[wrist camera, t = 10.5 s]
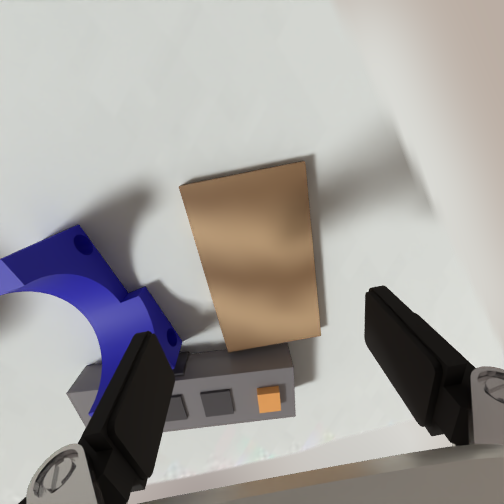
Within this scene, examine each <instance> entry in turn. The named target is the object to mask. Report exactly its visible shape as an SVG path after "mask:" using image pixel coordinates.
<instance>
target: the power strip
mask: <svg viewBox="0 0 504 504" xmlns="http://www.w3.org/2000/svg"><path fill="white" fill-rule="evenodd" d="M172 370H173V373H174V375H175V384H174V388H173V392H172V396H171V400H170V405H169V409H168V413H167V417H166V421H165V425H164V429H163V432H168V431H176V430H185V429H193V428H202V427H210V426H219V425H227V424H236V423H244V422H252V421H261V420H269V419H278V418H286V417H295V416H296V415H295V392H294V369H293V364H292V360H291V356H290V352H289V348H288V344H287V343H280V344H272V345H267V346H261V347H256V348H250V349H245V350H239V351H234V352H228V350H220V351H211V352H202V353H194V354H189V352H183V353H179V355H178V358H177V362H176V365H175V368H174V369H172ZM101 373H102V364H98V365H89V366H86V367H85V368H84V370H83V371H82V372H81V374H80V375H79V377H78V378H77V379H76V381H75V382H74V384H73V385H72V386H71V388H70V389H69V391H68V392H67V393H66V394H67V396H68V397H69V399H70V401H71V402H72V404H73V406H74V408H75V409H76V411H77V413H78V414H79V416H80V418H81V420H82V421H83V423H84V425H85V427H87V425H88V423H89V421H90V419H91V416H89V415H88V413H89V411H90V409H91V407H92V405H93V403H94V401H95V398H96V395H97V392H98V389H99V385H100V380H101Z"/></svg>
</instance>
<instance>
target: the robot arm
mask: <svg viewBox="0 0 504 504" xmlns="http://www.w3.org/2000/svg"><path fill="white" fill-rule="evenodd" d="M365 342H366V345H367V347H368V348H369V350H370V351H371V353H372V354H373V356H374V357H375V359H376V360H377V362H378V363H379V365H380V366H381V368H382V370H383V371H384V373H385V374H386V376H387V377H388V379H389V380H390V382H391V383H392V385H393V386H394V388H395V389H396V391H397V392H398V394H399V395H400V397H401V398H402V400H403V401H404V403H405V404H406V406H407V407H408V409H409V411H410V412H411V414H412V415H413V417H414V418H415V420H416V421H417V422H418V424H419V425H420V426H422V427H424V426H425V427H426V429H427V430H428V432H429V433H430V435H431V436H436V435H441V434H445V436H446V437H447V438H448V440H449V441H450V442H451V443H452V447H445V448H439V449H432V450H426V451H419V452H413V453H407V454H401V455H395V456H389V457H384V458H379V459H373V460H367V461H362V462H356V463H350V464H345V465H339V466H334V467H328V468H322V469H317V470H311V471H306V472H301V473H296V474H290V475H284V476H279V477H273V478H268V479H263V480H258V481H252V482H247V483H241V484H236V485H231V486H226V487H220V488H215V489H210V490H204V491H199V492H194V493H189V494H184V495H178V496H173V497H168V498H163V499H158V500H153V501H149V502H144V503H140V504H504V370H503V369H500V368H495V367H479V368H475V367H474V366H473V365H472V364H471V363H470V362H469V361H467V360H466V359H465V358H464V357H463V356H462V355H461V354H460V353H459V352H458V351H457V350H456V349H455V348H453V347H452V346H451V345H450V344H449V343H448V342H447V341H446V340H445V339H444V338H443V337H442V336H441V335H439V334H438V333H437V332H436V331H435V330H434V329H433V328H432V327H431V326H430V325H429V324H428V323H427V322H425V321H424V320H423V319H422V318H421V317H420V316H419V315H417V314H416V313H414V312H412V311H411V310H410V309H409V308H408V307H407V306H406V305H405V304H404V303H403V302H402V301H401V300H400V299H399V298H398V297H397V296H395V295H394V294H393V293H392V292H391V291H390V290H389V289H388V288H387V287H386V286H378V287H373V288H370V289H369V292H366V295H365ZM174 384H175V375H174V373H173V370H172V368H171V366H170V364H169V362H168V360H167V358H166V356H165V353H164V351H163V349H162V347H161V345H160V343H159V341H158V338H157V336H156V335H155V334H154V333H153V334H152V333H151V332H150V331H146V332H141V333H136V334H135V335H134V336H133V338H132V340H131V342H130V344H129V346H128V348H127V350H126V352H125V353H124V355H123V357H122V359H121V361H120V363H119V365H118V367H117V369H116V371H115V373H114V375H113V377H112V379H111V380H110V382H109V384H108V386H107V388H106V390H105V392H104V394H103V396H102V398H101V400H100V402H99V404H98V405H97V407H96V409H95V411H94V413H93V415H92V417H91V419H90V421H89V423H88V425H87V427H86V429H85V431H84V432H83V434H82V437H81V439H80V440H79V442H78V444H69V445H67V446H64V447H62V448H61V449H59V450H57V451H56V452H54V453H53V454H52V455H51V456H50V457H49V458H48V459H46V460H45V462H44V463H43V464H42V465H41V466H40V467H39V468H38V470H37V471H36V473H35V474H34V476H33V477H32V479H31V481H30V484H29V486H28V489H27V495H26V497H25V498H24V499H23V500H22V501H21V502H20V503H18V504H128V503H127V502H128V500H129V496H130V492H134V491H139V490H144V489H145V486H146V483H147V479H148V478H149V477H151V475H152V473H153V470H154V466H155V462H156V458H157V453H158V449H159V445H160V441H161V437H162V433H163V429H164V425H165V421H166V417H167V413H168V409H169V405H170V400H171V396H172V392H173V388H174Z"/></svg>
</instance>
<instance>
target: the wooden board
mask: <svg viewBox="0 0 504 504" xmlns="http://www.w3.org/2000/svg"><path fill="white" fill-rule="evenodd" d="M179 189H180V193H181V196H182V199H183V203H184V206H185V209H186V213H187V216H188V219H189V223H190V226H191V229H192V233H193V236H194V240H195V243H196V246H197V250H198V253H199V256H200V260H201V263H202V266H203V270H204V273H205V276H206V280H207V283H208V286H209V290H210V293H211V297H212V300H213V303H214V307H215V310H216V313H217V317H218V320H219V323H220V327H221V330H222V333H223V337H224V340H225V343H226V347H227V350H228V352H234V351H239V350H245V349H250V348H256V347H261V346H267V345H272V344H278V343H284V342H289V341H295V340H300V339H306V338H311V337H317V336H321V330H320V319H319V308H318V297H317V286H316V275H315V264H314V253H313V242H312V231H311V220H310V209H309V198H308V187H307V176H306V165H305V161H300V162H295V163H290V164H285V165H280V166H275V167H270V168H265V169H260V170H255V171H250V172H244V173H239V174H234V175H229V176H224V177H219V178H214V179H209V180H204V181H199V182H194V183H189V184H184V185H181V186H179Z"/></svg>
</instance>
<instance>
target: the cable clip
mask: <svg viewBox="0 0 504 504" xmlns="http://www.w3.org/2000/svg"><path fill="white" fill-rule="evenodd" d="M22 291H33V292H41V293H47V294H50V295H54V296H56V297H59V298H61V299H63V300H65V301H67V302H69V303H70V304H72V305H73V306H75V307H76V308H77V309H78V310H79V311H80V312H81V313H82V314H83V315H84V316H85V317H86V318H87V319H88V321H89V322H90V324H91V325H92V327H93V329H94V331H95V333H96V335H97V338H98V341H99V345H100V349H101V356H102V373H101V380H100V385H99V389H98V392H97V395H96V398H95V401H94V403H93V405H92V407H91V409H90V411H89V413H88V415H89V416H91V417H92V415H93V413H94V411H95V409H96V407H97V405H98V404H99V402H100V400H101V398H102V396H103V394H104V392H105V390H106V388H107V386H108V384H109V382H110V380H111V379H112V377H113V375H114V373H115V371H116V369H117V367H118V365H119V363H120V361H121V359H122V357H123V355H124V353H125V352H126V350H127V348H128V346H129V344H130V342H131V340H132V338H133V336H134V335H135V334H136V333H141V332H146V331H150V332H151V333H152V334H153V333H154V334H155V335H156V336H157V338H158V341H159V343H160V345H161V347H162V349H163V351H164V353H165V356H166V358H167V360H168V362H169V364H170V366H171V368H172V369H174V368H175V365H176V362H177V358H178V355H179V352H180V348H181V345H182V340H181V339H180V337H179V336H178V334H177V333H176V331H175V330H174V328H173V327H172V325H171V324H170V322H169V321H168V319H167V318H166V316H165V315H164V313H163V312H162V310H161V309H160V307H159V306H158V304H157V303H156V302H155V300H154V299H153V297H152V296H151V294H150V293H149V291H148V290H147V288H146V287H143V288H140V289H138V290H135V291H132V292H130V293H128V292H127V291H126V289H125V288H124V286H123V285H122V284H121V282H120V281H119V279H118V278H117V277H116V275H115V274H114V273H113V271H112V270H111V268H110V267H109V266H108V264H107V263H106V261H105V260H104V259H103V257H102V256H101V254H100V253H99V252H98V250H97V249H96V247H95V246H94V245H93V243H92V242H91V241H90V239H89V238H88V236H87V235H86V234H85V232H84V231H83V229H82V228H81V227H80V225H76V226H74V227H72V228H69V229H67V230H65V231H62V232H60V233H58V234H55V235H53V236H51V237H49V238H46V239H44V240H42V241H39V242H37V243H35V244H33V245H30V246H28V247H26V248H24V249H21V250H19V251H17V252H15V253H13V254H10V255H8V256H6V257H4V258H1V259H0V295H3V294H8V293H13V292H22Z"/></svg>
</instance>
